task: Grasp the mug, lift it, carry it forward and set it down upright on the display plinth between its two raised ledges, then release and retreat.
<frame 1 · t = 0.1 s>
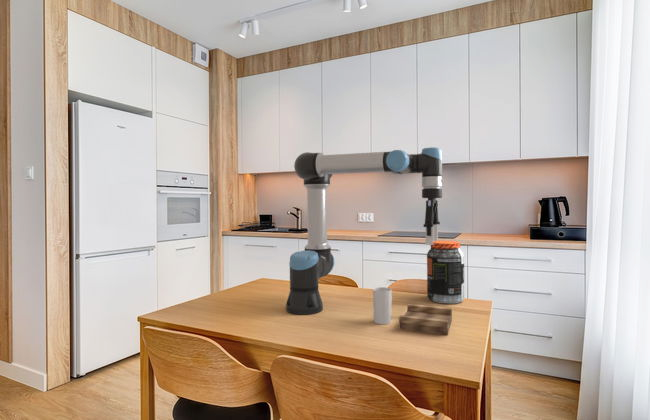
hand: (431, 242, 148), 28 cm above the table, fingers open, 13 cm apart
supplement tub: (445, 300, 169), on the table
mug: (384, 321, 141), on the table
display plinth: (426, 324, 136), on the table
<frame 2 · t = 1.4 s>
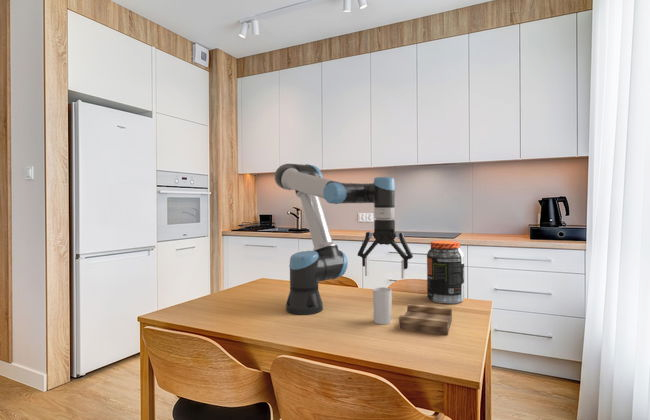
hand: (384, 276, 140), 16 cm above the table, fingers open, 13 cm apart
nothing on the table moved.
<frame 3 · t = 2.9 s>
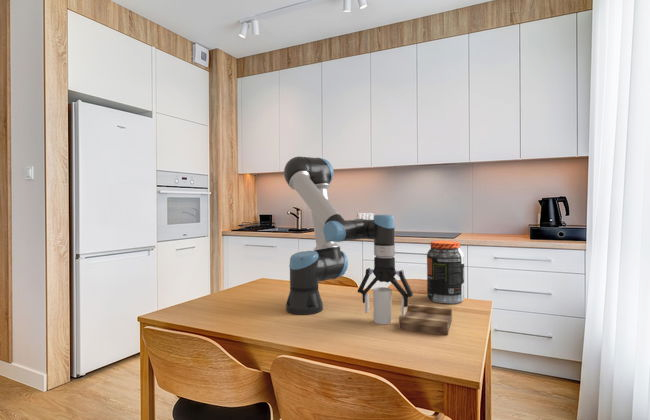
hand: (384, 313, 141), 3 cm above the table, fingers open, 13 cm apart
nothing on the table moved.
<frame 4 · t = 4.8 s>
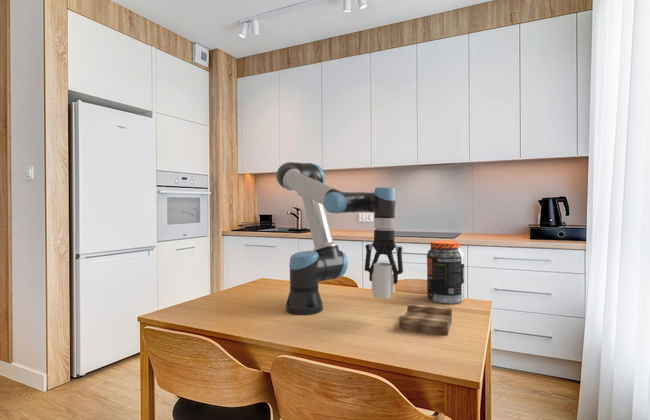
hand: (383, 290, 141), 11 cm above the table, fingers closed on mug, 6 cm apart
mug: (384, 296, 141), point 9 cm above the table, touching gripper
everything else where it was.
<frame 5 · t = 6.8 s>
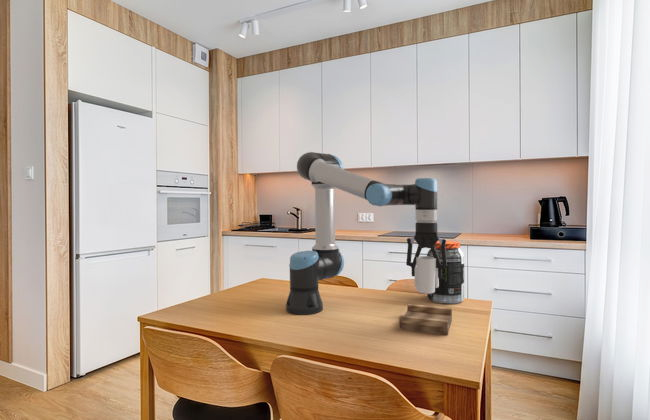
hand: (426, 286, 136), 14 cm above the table, fingers closed on mug, 6 cm apart
mug: (427, 291, 135), point 12 cm above the table, touching gripper
everything else where it was.
when the fingers open (4 cm above the table, at t = 9.1 s): mug stays where it is, resting on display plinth.
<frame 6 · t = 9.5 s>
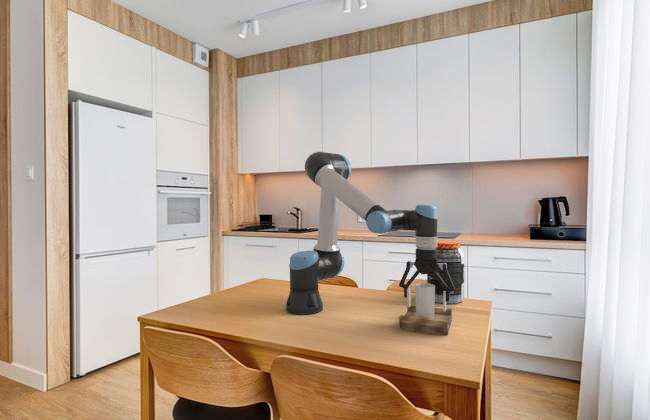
hand: (426, 308, 136), 6 cm above the table, fingers open, 12 cm apart
mug: (427, 318, 136), point 2 cm above the table, touching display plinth
everything else where it was.
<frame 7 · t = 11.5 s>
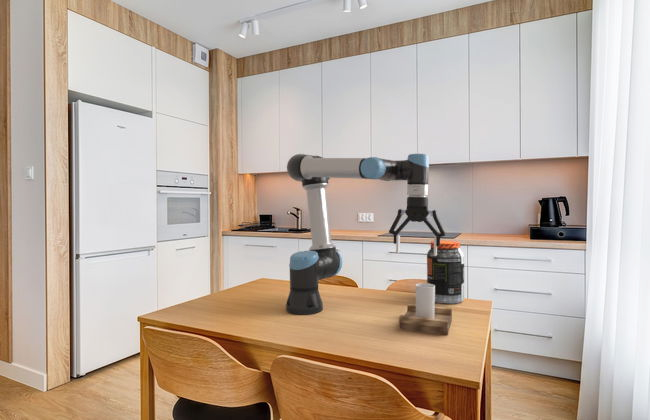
hand: (416, 254, 140), 25 cm above the table, fingers open, 13 cm apart
nothing on the table moved.
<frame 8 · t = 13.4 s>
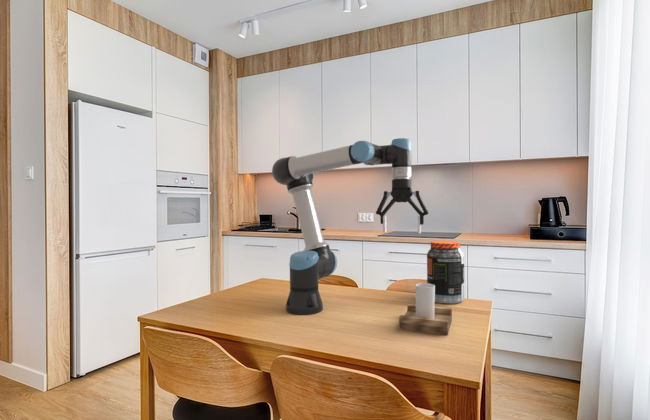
hand: (401, 232, 149), 32 cm above the table, fingers open, 13 cm apart
nothing on the table moved.
at the end: mug inside the target area on the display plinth (0.2 cm from its centre), point 2.3 cm above the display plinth's base; mug tilted 0°; the gripper is holding nothing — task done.
